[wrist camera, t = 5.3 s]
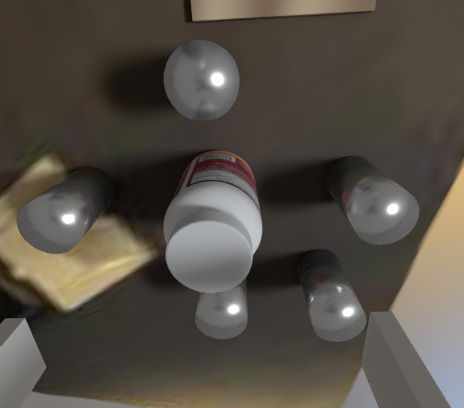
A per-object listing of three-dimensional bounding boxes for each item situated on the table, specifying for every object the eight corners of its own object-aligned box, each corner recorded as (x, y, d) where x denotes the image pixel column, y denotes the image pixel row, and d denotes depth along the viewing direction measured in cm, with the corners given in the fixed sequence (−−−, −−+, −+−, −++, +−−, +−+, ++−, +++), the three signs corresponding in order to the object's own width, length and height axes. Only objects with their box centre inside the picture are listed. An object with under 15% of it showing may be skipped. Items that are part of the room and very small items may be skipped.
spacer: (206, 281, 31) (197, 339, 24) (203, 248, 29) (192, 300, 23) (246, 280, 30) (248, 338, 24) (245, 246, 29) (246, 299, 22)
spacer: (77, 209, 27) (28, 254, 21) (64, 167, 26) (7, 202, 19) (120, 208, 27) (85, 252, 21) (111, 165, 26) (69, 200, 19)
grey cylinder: (296, 283, 30) (311, 341, 24) (298, 250, 29) (314, 303, 22) (336, 282, 30) (362, 341, 24) (340, 248, 29) (369, 302, 22)
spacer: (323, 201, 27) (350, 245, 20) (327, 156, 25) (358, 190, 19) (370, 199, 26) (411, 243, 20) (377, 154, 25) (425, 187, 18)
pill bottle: (215, 227, 28) (202, 321, 18) (168, 178, 26) (124, 252, 16) (270, 188, 26) (289, 267, 16) (224, 132, 24) (213, 183, 14)
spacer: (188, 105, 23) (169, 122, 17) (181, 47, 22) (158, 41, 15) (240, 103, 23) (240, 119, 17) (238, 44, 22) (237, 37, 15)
